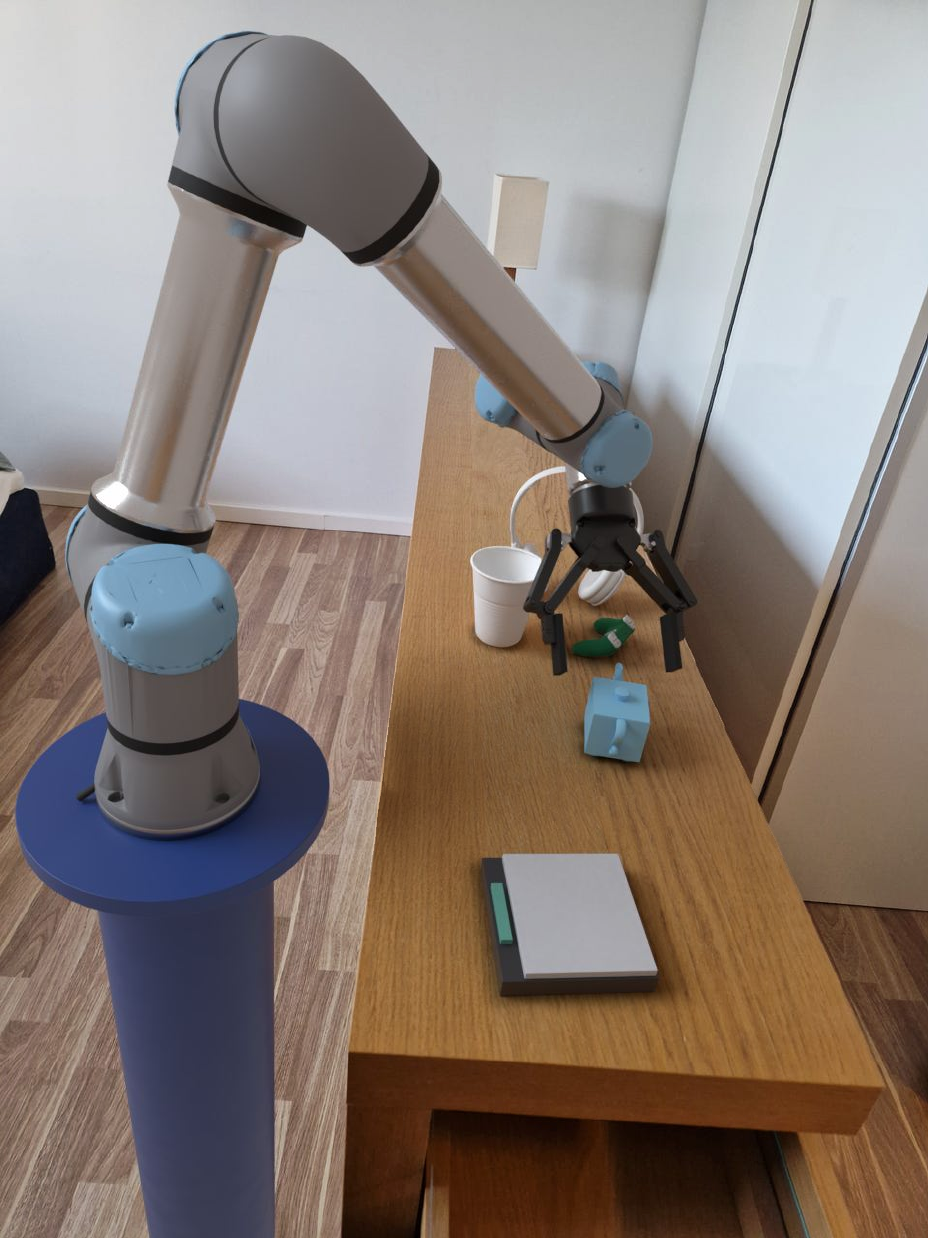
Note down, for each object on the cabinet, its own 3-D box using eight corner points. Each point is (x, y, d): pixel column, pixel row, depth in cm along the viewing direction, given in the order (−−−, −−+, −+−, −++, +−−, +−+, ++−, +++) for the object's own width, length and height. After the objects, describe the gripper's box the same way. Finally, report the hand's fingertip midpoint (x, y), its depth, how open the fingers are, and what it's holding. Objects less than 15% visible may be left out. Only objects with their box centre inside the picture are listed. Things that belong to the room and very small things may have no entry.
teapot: (583, 703, 105) (594, 652, 101) (633, 712, 105) (646, 660, 101) (582, 768, 95) (595, 714, 91) (638, 778, 95) (653, 723, 91)
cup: (465, 611, 120) (474, 540, 115) (536, 622, 120) (548, 551, 114) (457, 650, 112) (466, 575, 106) (533, 662, 112) (547, 587, 106)
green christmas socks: (582, 672, 114) (619, 657, 110) (567, 648, 114) (604, 632, 110) (608, 642, 121) (643, 627, 117) (594, 619, 121) (629, 603, 117)
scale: (499, 996, 70) (503, 976, 69) (479, 871, 81) (483, 852, 80) (654, 992, 72) (661, 972, 71) (614, 870, 83) (619, 851, 81)
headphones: (501, 576, 130) (520, 450, 120) (622, 595, 130) (652, 469, 119) (497, 600, 124) (517, 468, 114) (625, 619, 124) (657, 489, 113)
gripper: (682, 506, 108) (703, 674, 104) (489, 502, 103) (501, 680, 98) (712, 483, 101) (736, 663, 97) (505, 478, 96) (520, 669, 91)
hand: (618, 672), depth 97 cm, fingers open, 13 cm apart
